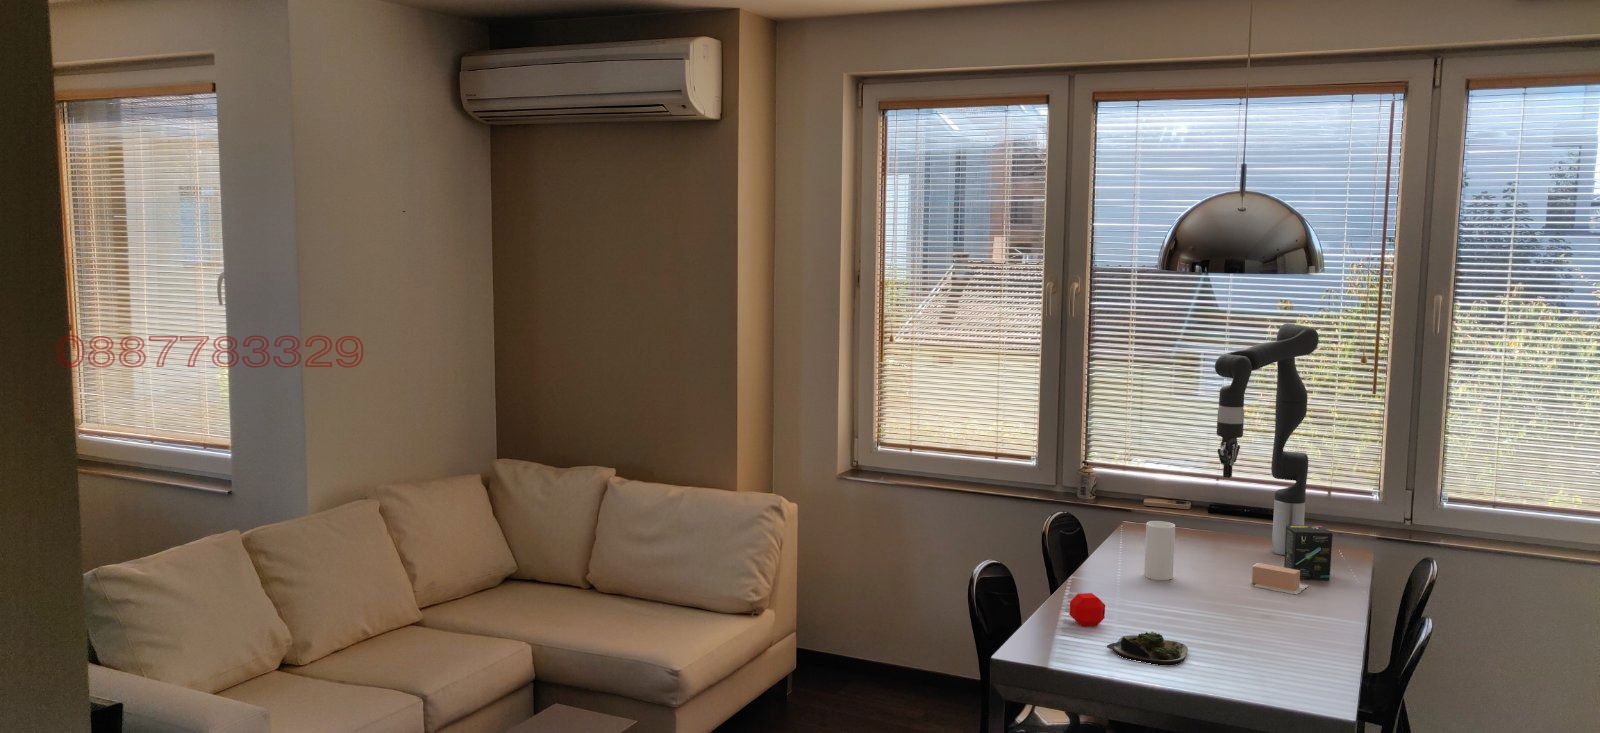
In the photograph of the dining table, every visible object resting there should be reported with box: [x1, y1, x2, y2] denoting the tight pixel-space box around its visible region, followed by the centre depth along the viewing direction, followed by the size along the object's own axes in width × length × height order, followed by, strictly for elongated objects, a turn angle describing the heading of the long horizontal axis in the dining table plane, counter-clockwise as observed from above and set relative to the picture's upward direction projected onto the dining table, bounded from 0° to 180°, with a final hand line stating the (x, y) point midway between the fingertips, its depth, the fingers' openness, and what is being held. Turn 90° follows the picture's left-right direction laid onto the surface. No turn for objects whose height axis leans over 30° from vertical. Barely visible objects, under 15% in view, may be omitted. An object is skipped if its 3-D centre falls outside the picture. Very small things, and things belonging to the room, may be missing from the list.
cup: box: [1143, 520, 1176, 581], centre depth 339 cm, size 8×8×16 cm
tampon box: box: [1283, 525, 1333, 581], centre depth 342 cm, size 11×9×15 cm
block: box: [1250, 562, 1301, 591], centre depth 331 cm, size 5×5×12 cm
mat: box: [1253, 583, 1309, 596], centre depth 331 cm, size 11×12×1 cm
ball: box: [1069, 592, 1106, 628], centre depth 294 cm, size 8×8×8 cm
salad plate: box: [1106, 631, 1189, 666], centre depth 275 cm, size 19×18×5 cm
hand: (1227, 477), depth 345 cm, fingers closed
